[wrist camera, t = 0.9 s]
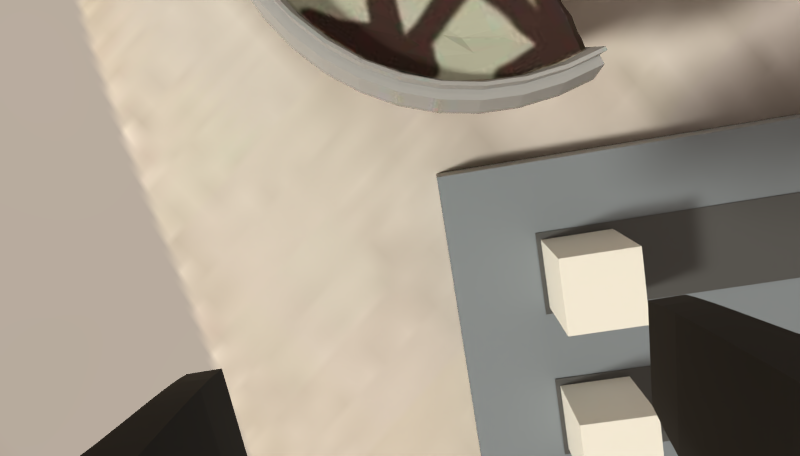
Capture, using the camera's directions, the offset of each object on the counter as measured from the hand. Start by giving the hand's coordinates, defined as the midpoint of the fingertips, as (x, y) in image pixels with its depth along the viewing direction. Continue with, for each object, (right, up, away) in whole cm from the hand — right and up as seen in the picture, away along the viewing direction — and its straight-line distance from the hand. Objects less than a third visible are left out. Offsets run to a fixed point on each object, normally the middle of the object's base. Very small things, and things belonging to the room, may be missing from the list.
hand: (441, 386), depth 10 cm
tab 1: (+6, +1, +12) cm, 13 cm away
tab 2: (+7, -4, +12) cm, 15 cm away
